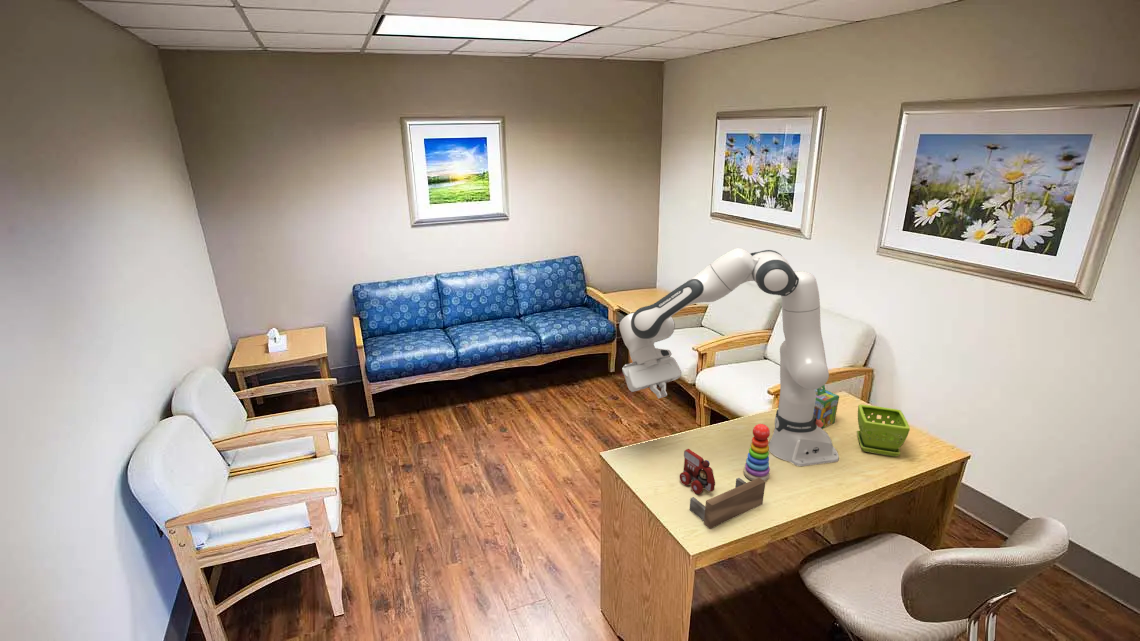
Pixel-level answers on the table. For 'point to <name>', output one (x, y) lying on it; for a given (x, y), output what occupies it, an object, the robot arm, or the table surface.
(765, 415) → the table surface
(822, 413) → the chalk box
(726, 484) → the table surface
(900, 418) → the flower pot
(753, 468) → the stacking toy
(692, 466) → the toy fire truck
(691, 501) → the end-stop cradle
